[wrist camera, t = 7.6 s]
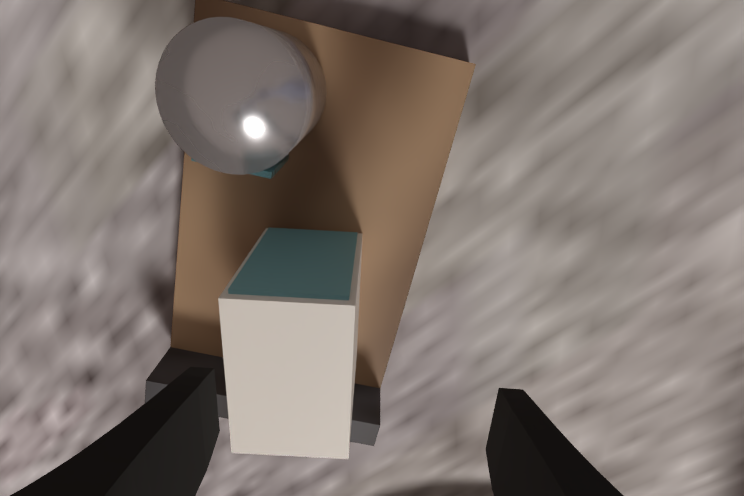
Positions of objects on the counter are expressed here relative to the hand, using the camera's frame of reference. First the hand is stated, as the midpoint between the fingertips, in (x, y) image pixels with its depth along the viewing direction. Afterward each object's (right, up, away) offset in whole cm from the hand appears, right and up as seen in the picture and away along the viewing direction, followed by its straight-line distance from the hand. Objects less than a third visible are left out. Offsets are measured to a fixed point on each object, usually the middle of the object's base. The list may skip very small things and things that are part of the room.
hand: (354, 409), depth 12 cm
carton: (-2, +2, +8) cm, 9 cm away
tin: (-3, +10, +5) cm, 12 cm away
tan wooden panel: (-3, +5, +8) cm, 10 cm away
